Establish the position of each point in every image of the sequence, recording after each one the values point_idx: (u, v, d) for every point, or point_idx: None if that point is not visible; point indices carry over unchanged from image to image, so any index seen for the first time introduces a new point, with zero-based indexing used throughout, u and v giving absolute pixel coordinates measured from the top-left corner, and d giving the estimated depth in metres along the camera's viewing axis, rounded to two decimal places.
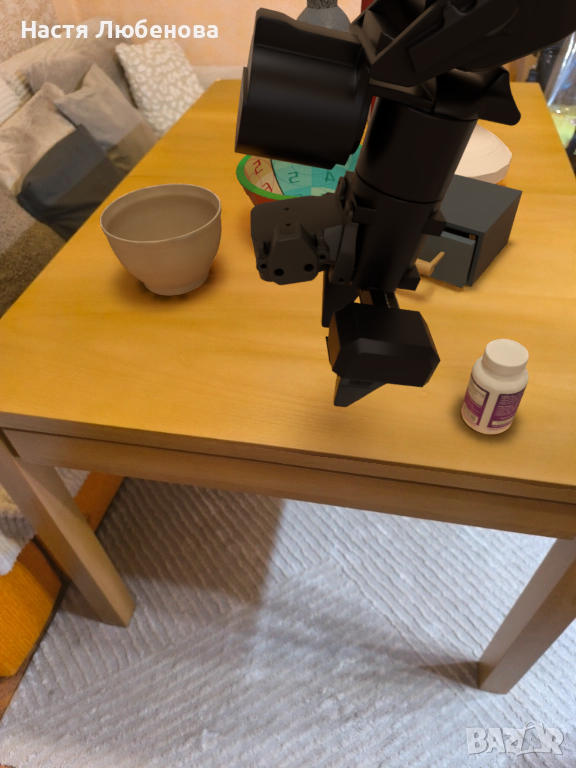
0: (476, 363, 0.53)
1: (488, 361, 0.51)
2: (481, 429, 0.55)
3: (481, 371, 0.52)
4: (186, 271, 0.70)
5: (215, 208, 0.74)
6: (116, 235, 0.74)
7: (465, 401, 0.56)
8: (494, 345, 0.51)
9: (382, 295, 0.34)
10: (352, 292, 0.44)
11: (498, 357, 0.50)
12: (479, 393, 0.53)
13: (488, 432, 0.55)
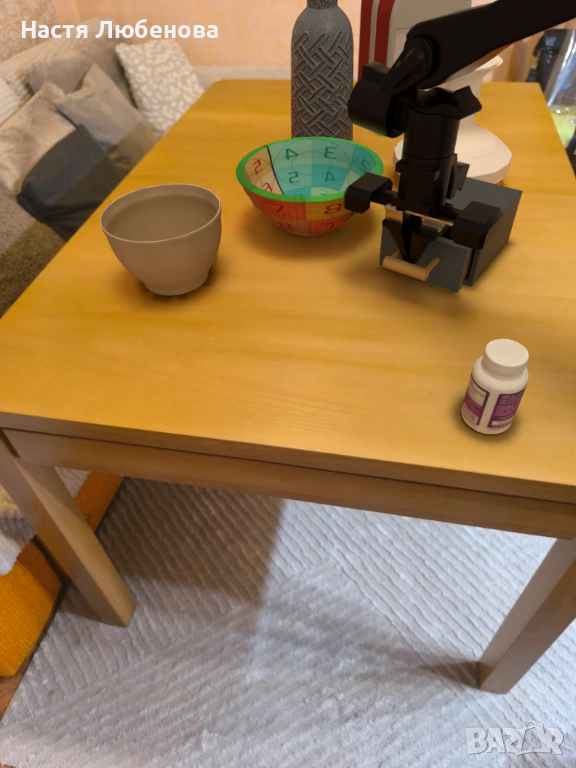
0: (476, 363, 0.53)
1: (488, 361, 0.51)
2: (481, 429, 0.55)
3: (481, 371, 0.52)
4: (186, 271, 0.70)
5: (215, 208, 0.74)
6: (116, 235, 0.74)
7: (465, 401, 0.56)
8: (494, 345, 0.51)
9: (393, 194, 0.65)
10: None
11: (498, 357, 0.50)
12: (479, 393, 0.53)
13: (488, 432, 0.55)
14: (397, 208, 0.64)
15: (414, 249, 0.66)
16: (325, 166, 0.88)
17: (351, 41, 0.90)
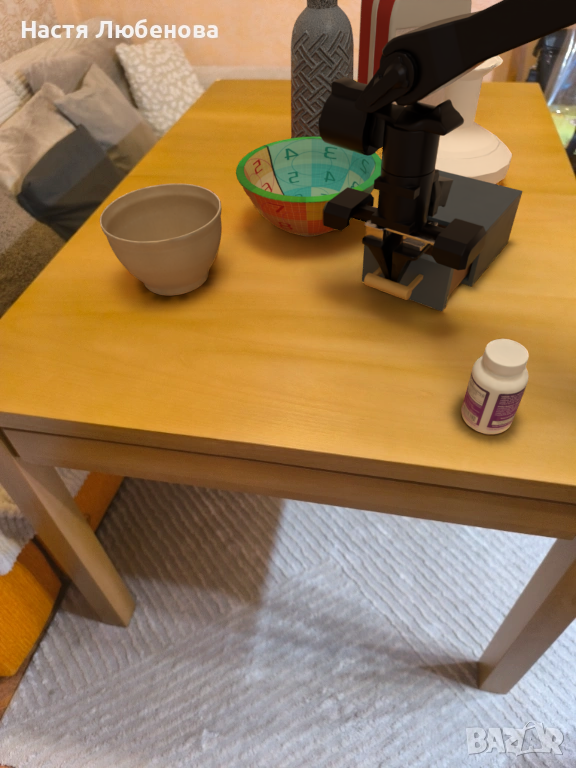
0: (476, 363, 0.53)
1: (488, 361, 0.50)
2: (481, 429, 0.55)
3: (481, 371, 0.52)
4: (186, 271, 0.70)
5: (215, 208, 0.74)
6: (116, 235, 0.74)
7: (465, 401, 0.56)
8: (494, 345, 0.51)
9: (374, 211, 0.62)
10: None
11: (498, 357, 0.50)
12: (479, 393, 0.53)
13: (488, 432, 0.55)
14: (377, 226, 0.61)
15: (395, 267, 0.63)
16: (325, 166, 0.88)
17: (351, 41, 0.90)
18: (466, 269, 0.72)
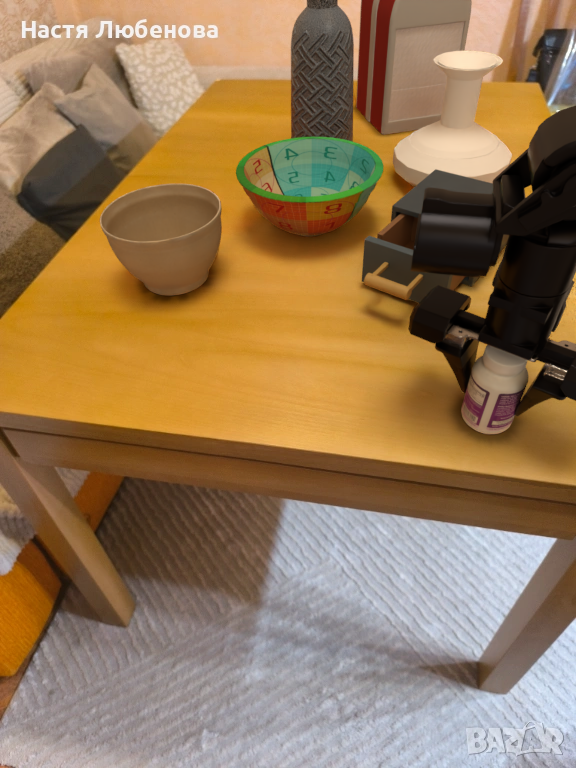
0: (476, 363, 0.53)
1: (488, 361, 0.51)
2: (481, 429, 0.55)
3: (481, 371, 0.52)
4: (186, 271, 0.70)
5: (215, 208, 0.74)
6: (116, 235, 0.74)
7: (465, 401, 0.56)
8: None
9: (477, 321, 0.50)
10: (524, 395, 0.51)
11: (498, 357, 0.50)
12: (479, 393, 0.53)
13: (488, 432, 0.55)
14: (456, 331, 0.50)
15: (529, 400, 0.50)
16: (325, 166, 0.88)
17: (351, 41, 0.90)
18: None
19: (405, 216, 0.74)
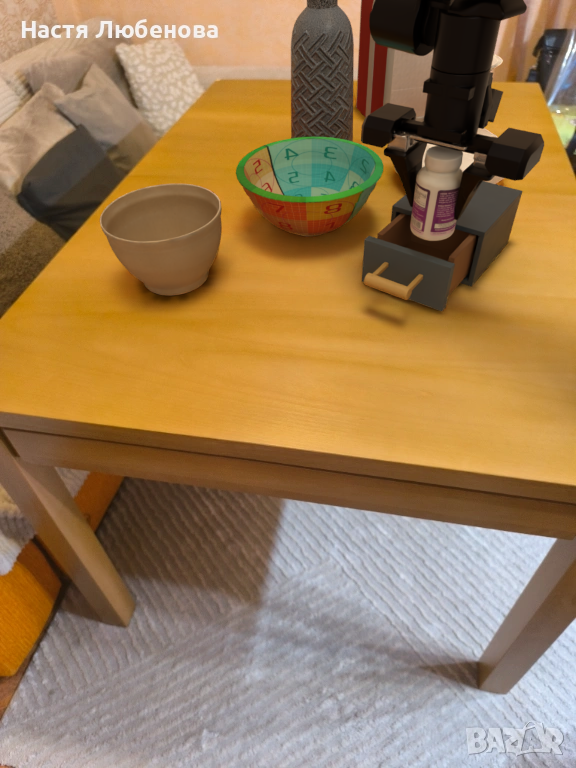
0: (420, 170, 0.61)
1: (428, 160, 0.58)
2: (426, 235, 0.63)
3: (423, 173, 0.59)
4: (186, 271, 0.70)
5: (215, 208, 0.74)
6: (116, 235, 0.74)
7: (412, 212, 0.63)
8: (434, 149, 0.59)
9: None
10: None
11: (436, 155, 0.58)
12: (422, 195, 0.60)
13: (432, 238, 0.63)
14: (401, 133, 0.58)
15: (463, 193, 0.58)
16: (325, 166, 0.88)
17: (351, 41, 0.90)
18: (466, 269, 0.72)
19: (405, 216, 0.74)
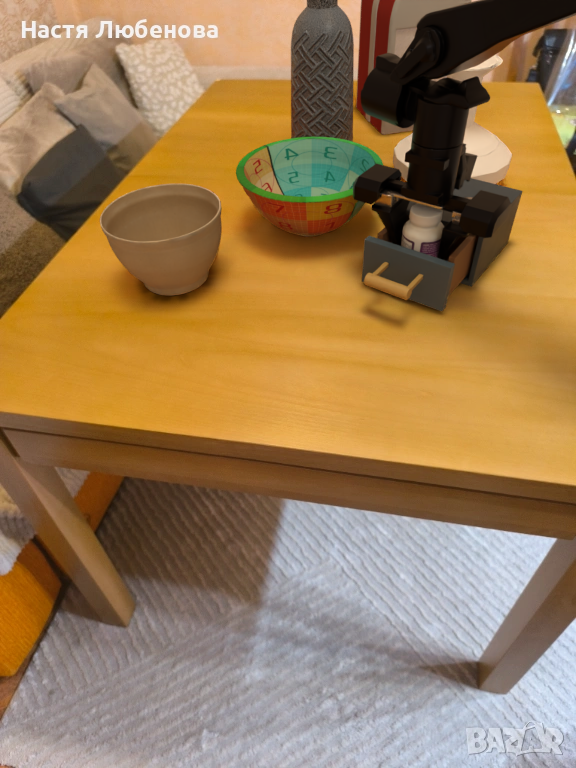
0: (405, 223, 0.69)
1: (412, 216, 0.66)
2: None
3: (408, 226, 0.67)
4: (186, 271, 0.70)
5: (215, 208, 0.74)
6: (116, 235, 0.74)
7: None
8: (417, 205, 0.67)
9: (402, 185, 0.66)
10: None
11: (419, 212, 0.66)
12: (407, 245, 0.68)
13: None
14: (386, 192, 0.66)
15: (444, 245, 0.66)
16: (325, 166, 0.88)
17: (351, 41, 0.90)
18: (466, 269, 0.72)
19: None
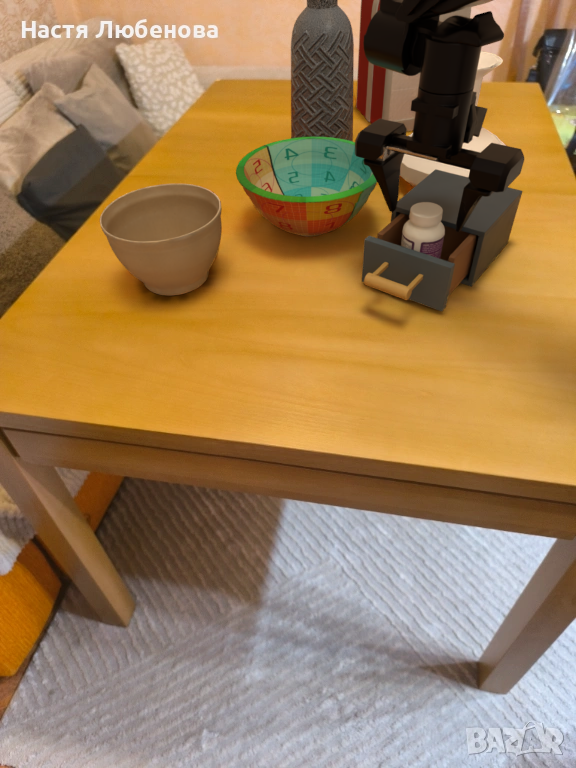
0: (405, 223, 0.69)
1: (412, 216, 0.66)
2: None
3: (408, 226, 0.67)
4: (186, 271, 0.70)
5: (215, 208, 0.74)
6: (116, 235, 0.74)
7: None
8: (417, 205, 0.67)
9: (408, 139, 0.62)
10: None
11: (419, 212, 0.66)
12: (407, 245, 0.68)
13: None
14: None
15: (464, 207, 0.61)
16: (325, 166, 0.88)
17: (351, 41, 0.90)
18: (466, 269, 0.72)
19: (405, 216, 0.74)
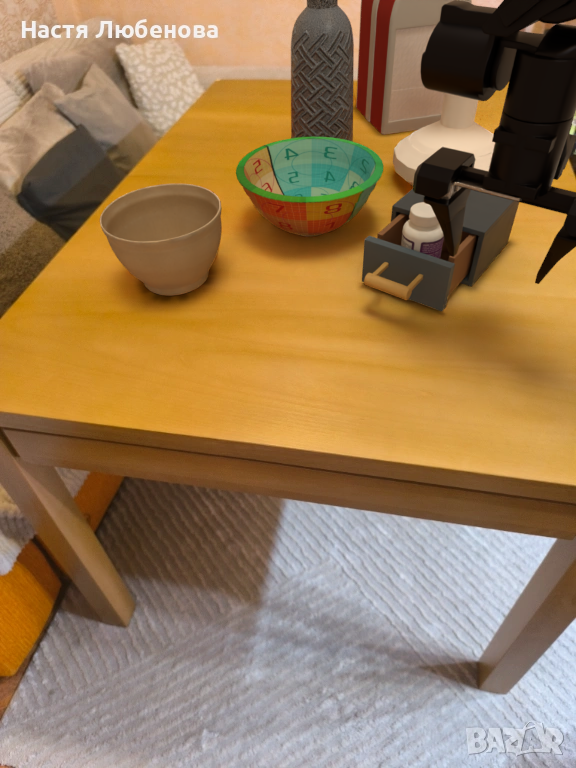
0: (405, 223, 0.69)
1: (412, 216, 0.66)
2: None
3: (408, 226, 0.67)
4: (186, 271, 0.70)
5: (215, 208, 0.74)
6: (116, 235, 0.74)
7: None
8: (417, 205, 0.67)
9: (481, 173, 0.51)
10: None
11: (419, 212, 0.66)
12: (407, 245, 0.68)
13: None
14: None
15: (551, 257, 0.50)
16: (325, 166, 0.88)
17: (351, 41, 0.90)
18: (466, 269, 0.72)
19: (405, 216, 0.74)
